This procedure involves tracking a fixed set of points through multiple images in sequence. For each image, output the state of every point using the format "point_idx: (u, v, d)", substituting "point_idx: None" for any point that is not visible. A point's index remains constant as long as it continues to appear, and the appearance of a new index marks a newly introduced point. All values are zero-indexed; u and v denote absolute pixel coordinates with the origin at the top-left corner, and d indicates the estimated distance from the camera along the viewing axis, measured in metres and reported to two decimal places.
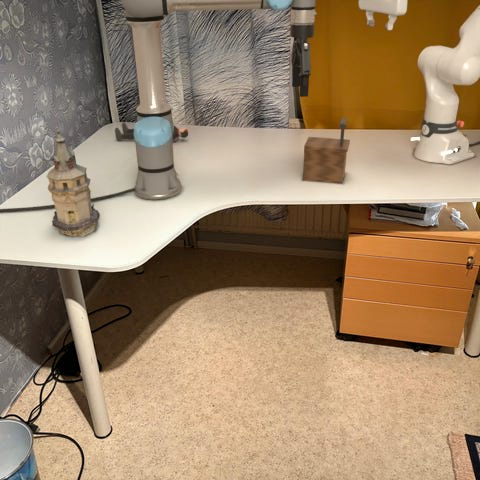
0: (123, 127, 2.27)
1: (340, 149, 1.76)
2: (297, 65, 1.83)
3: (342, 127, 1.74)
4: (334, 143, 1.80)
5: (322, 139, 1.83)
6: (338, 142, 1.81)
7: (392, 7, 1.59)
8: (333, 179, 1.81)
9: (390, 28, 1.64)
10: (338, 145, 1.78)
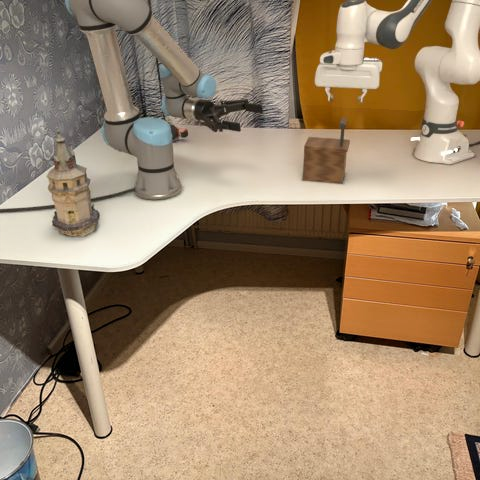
0: None
1: (340, 149, 1.76)
2: None
3: (342, 127, 1.74)
4: (334, 143, 1.80)
5: (322, 139, 1.83)
6: (338, 142, 1.81)
7: (371, 82, 1.66)
8: (333, 179, 1.81)
9: (362, 100, 1.71)
10: (338, 145, 1.78)
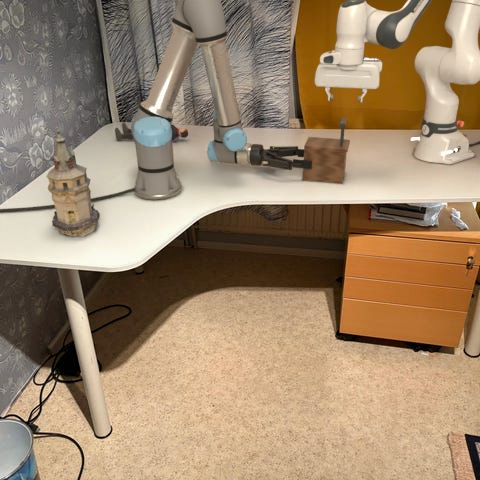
0: (123, 127, 2.27)
1: (340, 149, 1.76)
2: None
3: (342, 127, 1.74)
4: (334, 143, 1.80)
5: (322, 139, 1.83)
6: (338, 142, 1.81)
7: (371, 82, 1.66)
8: (333, 179, 1.81)
9: (362, 100, 1.71)
10: (338, 145, 1.78)
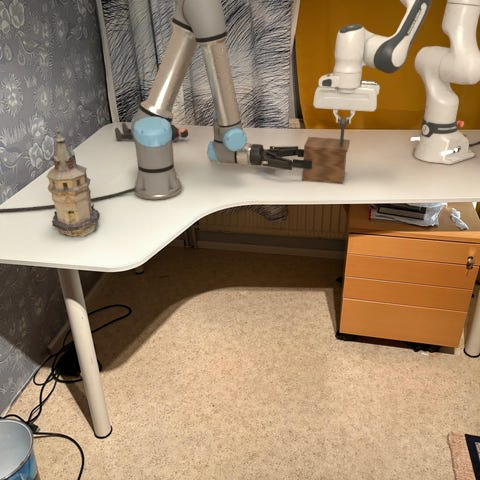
0: (123, 127, 2.27)
1: (340, 149, 1.76)
2: None
3: (342, 127, 1.74)
4: (334, 143, 1.80)
5: (322, 139, 1.83)
6: (338, 142, 1.81)
7: (368, 105, 1.70)
8: (333, 179, 1.81)
9: (350, 121, 1.75)
10: (338, 145, 1.78)
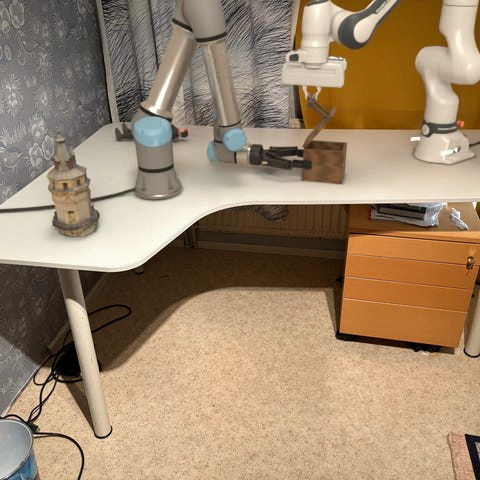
0: (123, 127, 2.27)
1: (327, 120, 1.72)
2: None
3: (311, 105, 1.73)
4: (322, 121, 1.77)
5: (315, 128, 1.82)
6: None
7: (335, 81, 1.68)
8: (333, 179, 1.81)
9: (317, 98, 1.74)
10: (324, 120, 1.75)
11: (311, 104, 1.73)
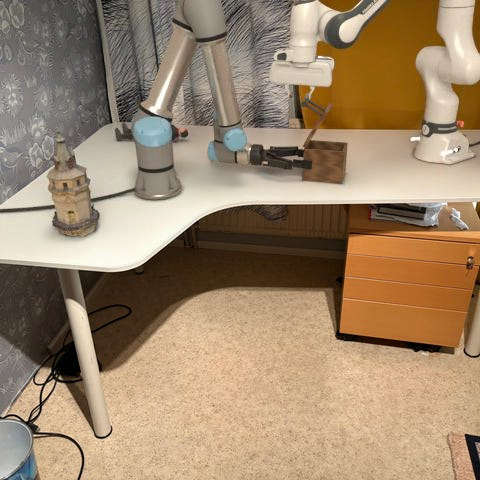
0: (123, 127, 2.27)
1: (322, 117, 1.72)
2: None
3: (305, 104, 1.73)
4: None
5: (314, 126, 1.82)
6: None
7: (323, 80, 1.69)
8: (333, 179, 1.81)
9: (310, 97, 1.75)
10: None
11: (305, 103, 1.73)
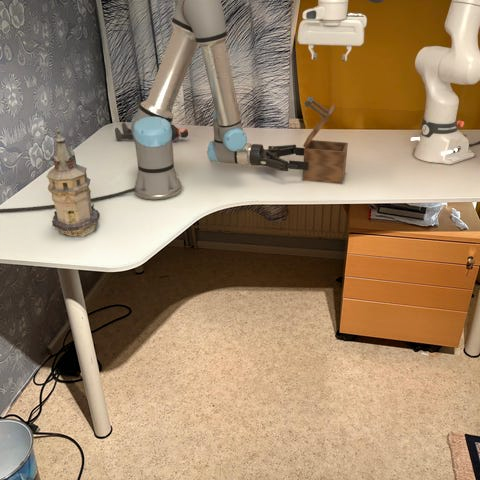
0: (123, 127, 2.27)
1: (326, 118, 1.72)
2: None
3: (309, 104, 1.73)
4: (321, 120, 1.77)
5: (315, 127, 1.82)
6: None
7: (355, 38, 1.61)
8: (333, 179, 1.81)
9: (346, 59, 1.66)
10: (323, 118, 1.75)
11: (309, 103, 1.73)
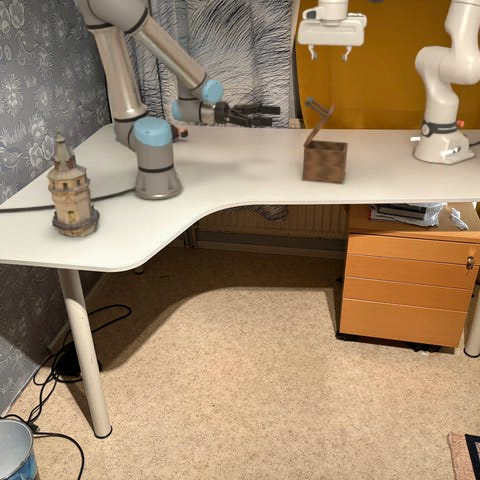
0: None
1: (326, 118, 1.72)
2: None
3: (309, 104, 1.73)
4: (321, 120, 1.77)
5: (315, 127, 1.82)
6: None
7: (355, 38, 1.61)
8: (333, 179, 1.81)
9: (346, 59, 1.66)
10: (323, 118, 1.75)
11: (309, 103, 1.73)
